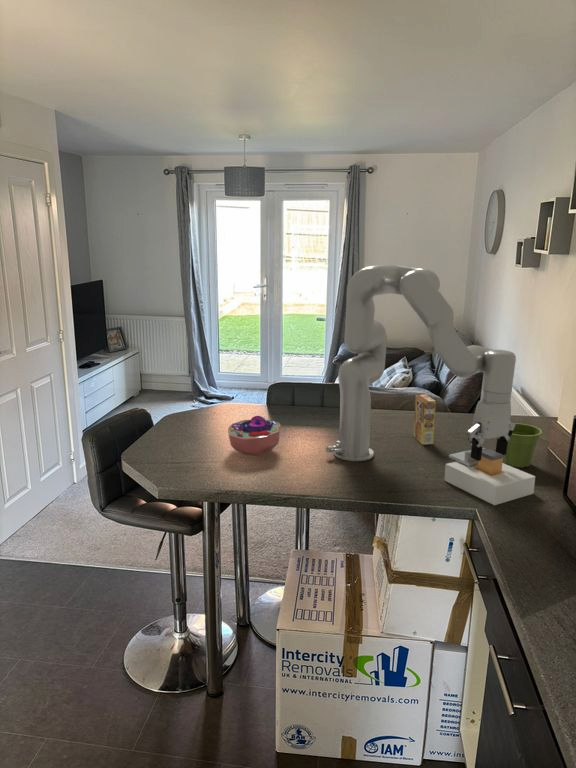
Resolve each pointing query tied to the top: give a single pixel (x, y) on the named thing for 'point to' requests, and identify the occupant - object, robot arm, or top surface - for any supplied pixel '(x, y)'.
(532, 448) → the plant pot
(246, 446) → the cell model
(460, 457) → the grey block
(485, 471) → the tan boxy piece
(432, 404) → the candy box
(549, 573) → the top surface
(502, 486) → the socket
